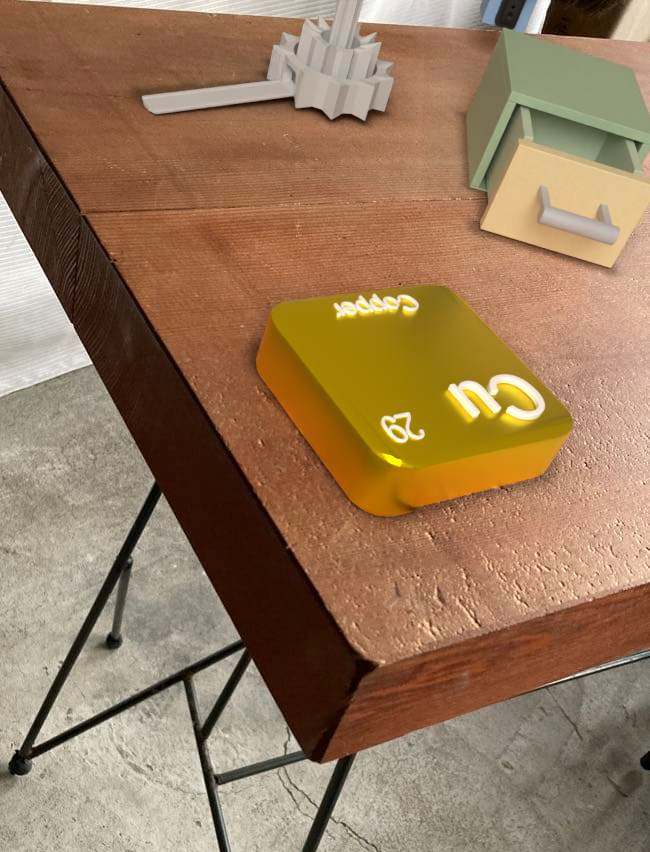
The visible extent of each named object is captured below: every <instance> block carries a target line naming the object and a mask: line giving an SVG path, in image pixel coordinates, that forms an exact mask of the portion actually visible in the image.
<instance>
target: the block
mask: <svg viewBox="0 0 650 852" xmlns="http://www.w3.org/2000/svg"><path fill="white" fill-rule="evenodd" d="M501 1H502V0H482V1H481V3H480V6H479V11H480V12H479V13H480V21H481V23H483V24H487V25H490V26H493V27H497V28H500V29H503V28H502V27H499V26H497V25H496V24H495V17H496V14H497V12H498V9H499V6H500V4H501ZM537 3H538V0H526V2H525V4H524V7H523V9H522V12H521V14H520V17H519V19H518V21H517V24H516V26H515V28H514V29H512V30H514V31H517V32H520V33H523V34H525V32H526V31H525V30H526V28H527V26H528V24H529V21H530V19H531V16H532V14H533V13H534V12H533V11H534V9H535V7H536V4H537Z"/></svg>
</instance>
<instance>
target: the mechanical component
mask: <svg viewBox="0 0 650 852" xmlns="http://www.w3.org/2000/svg"><path fill="white" fill-rule="evenodd" d="M363 3H364V0H337V2H336V7H335V11H334V14H333V19H332V23H331V25H329V24H328V23H327V22H326V20H325V19H324V17H323V16H322V15H321V14H320V12H319V13H318V14H317V15H318V16H317V20H316V24H315V23H314V22H313V21H311V20H310V19H308V17H305V19H304V22H303V25H302V29H301V33H300V35H297V36H296V35H294V34H291V33H287V32H285V31H282V34H281V38H280V43H279V44H273V45H272V50H271V55H270V56H271V57H270V61H269V65H268V70H267V74H266V75H267V76H266V80H263V81H255V82H247V83H246V82H245V83H237V84H230V85H221V86H211V87H204V88H196V89H188V90H180V91H171V92H164V93H163V92H162V93H153V94H145V95H141V100H142V104H143V106H144V107H145V108H146V110H147V111H148V112H150V113H152V114H154V115H160V114H161V115H162V114H168V113H169V114H170V113H176V112H184V111H192V110H198V109H206V108H215V107H222V106H229V105H235V104H236V105H237V104H243V103H244V104H245V103H251V102H260V101H267V100H274V99H282V98H283V99H284V98H290V97H292V98H293V99H294V107H295V109H302V108H303V109H304V108H311V107H313V108H315V109H319V110H321V111H322V112H323V113H324V114H325V115H326V116H327V117H328V118H329V120H332V121H333V120H334V119H336V118H337V117H339V116H340V115H343V114H347V115H348V114H349V115H350V114H351V115H353V116H354V117H357V118H358V119H360V120H362V121H364V122H365V121H366V118H367V115H368V112H370V111H371V110H376V111H380V112H385V110H386V107H387V104H388V101H389V97H390V94H391V91H392V88H393V85H394V81H395V78H394V77H393V76H391V73H392V69H393V67H394V62H392V61H387V60H382V59H380V58H379V53H380V50H381V46H382V44H383V42H382V41H378V42H375V40H376V37H377V34H378V31H374V32H373V33H370V34H367V35H364V36H362V35H361V34H360V33H361V32H360V30H361V26H362V21H359V19H360V15H361V12H362V7H363Z"/></svg>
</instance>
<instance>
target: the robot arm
mask: <svg viewBox="0 0 650 852" xmlns="http://www.w3.org/2000/svg"><path fill="white" fill-rule="evenodd" d="M525 2H526V0H502V1H501V4H500V6H499V9H498V12H497V14H496V17H495V24H496V25H497V26H499V27H502V28H501V29H503V27H504V28H507V29H511V30H512V29H514V28H515V26H516V24H517V21H518V19H519V17H520V14H521V12H522V9H523V7H524V4H525ZM499 27H498V28H499Z"/></svg>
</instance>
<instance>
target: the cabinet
mask: <svg viewBox="0 0 650 852" xmlns="http://www.w3.org/2000/svg"><path fill="white" fill-rule="evenodd" d="M486 65H487V66H486V68H485V70H484V73H483V75H482V77H481V80H480V82H479V85H478V87H477V89H476V92H475V94H474V96H473V100H472V101H471V104H470V105H469V106H470V107H469V109H468V111H467V113H466V116H465V121H466V123H465V124H466V140H467V141H466V142H467V144H466V145H467V162H468V163H467V164H468V181H469V187H470V188H473V189H476V190H479V191H483V192H486V193H487V182H486V171H487V168H488V166H489V164H490V162H491V160H492V157H493V155H494V153H495V151H496V148H497V146H498V144H499V142H500V139H501V137H502V135H503V133H504V130H505V128H506V126H507V124H508V121H509V119H510V117H511V115H512V113H513V110H514V108H515V106H516V103H518V104H521V105H524V106H527V107H530V108H534V109H537V110H540V111H543V112H546V113H550V114H553V115H556V116H559V117H562V118H566V119H569V120H572V121H575V122H578V123H581V124H585V125H588V126H591V127H594V128H597V129H601V130H604V131H607V132H610V133H613V134H617V135H620V136H623V137H626V138H629V139H633V140H634V143H635V146H636V149H637V152H638V155H639V159H640V162H641V165H643V163H644V161H645V160H646V158H647V155H648V154H649V152H650V114H649V110H648V107H647V105H646V102H645V99H644V96H643V94H642V91H641V88H640V86H639V83H638V80H637V77H636V74H635V71H634V69H633V68H632V67H629V66H627V65H623V64H621V63H617V62H614V61H611V60H607V59H604V58H601V57H598V56H595V55H592V54H589V53H585V52H583V51H580V50H576V49H573V48H570V47H566V46H563V45H562V44H561V45H560V44H558V43H554V42H552V41H548V40H545V39H542V38H538V37H536V36H532V35H529V34H526V33H520V32H517V31H514V30H511V29H507V28H504V27H503V28H501V30H500V34H499V36H498V38H497V41H496V44H495V45H494V48H493V51H492V53H491V56H490V58H489V60H488V62H487V64H486Z"/></svg>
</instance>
